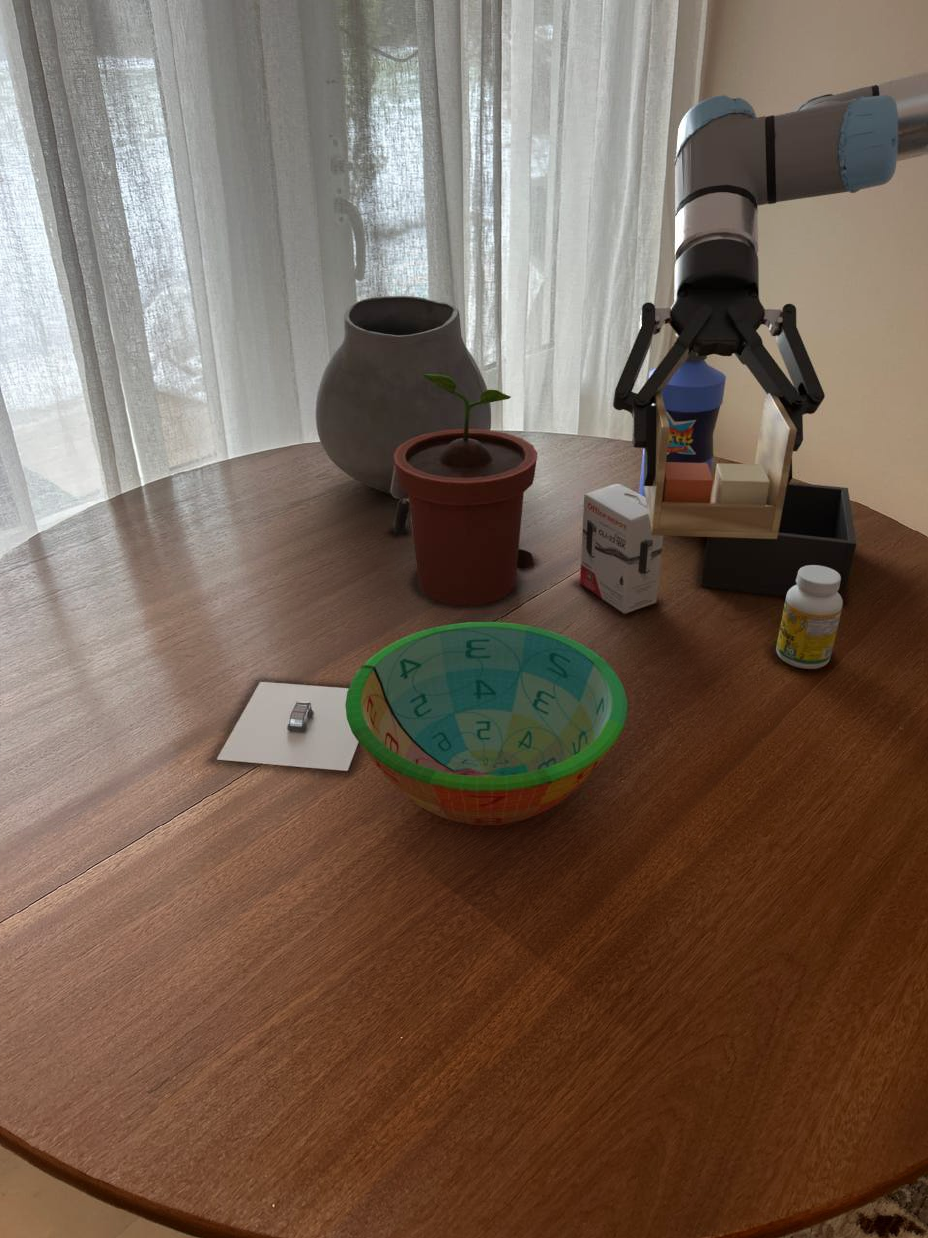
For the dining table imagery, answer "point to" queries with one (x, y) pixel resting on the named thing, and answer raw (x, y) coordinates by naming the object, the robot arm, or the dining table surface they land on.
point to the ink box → (619, 548)
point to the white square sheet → (293, 728)
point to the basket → (787, 545)
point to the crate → (712, 516)
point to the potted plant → (464, 506)
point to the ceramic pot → (394, 384)
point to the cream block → (740, 484)
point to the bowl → (486, 718)
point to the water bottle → (691, 412)
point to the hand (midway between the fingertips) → (716, 482)
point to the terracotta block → (687, 483)
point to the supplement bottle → (810, 618)
